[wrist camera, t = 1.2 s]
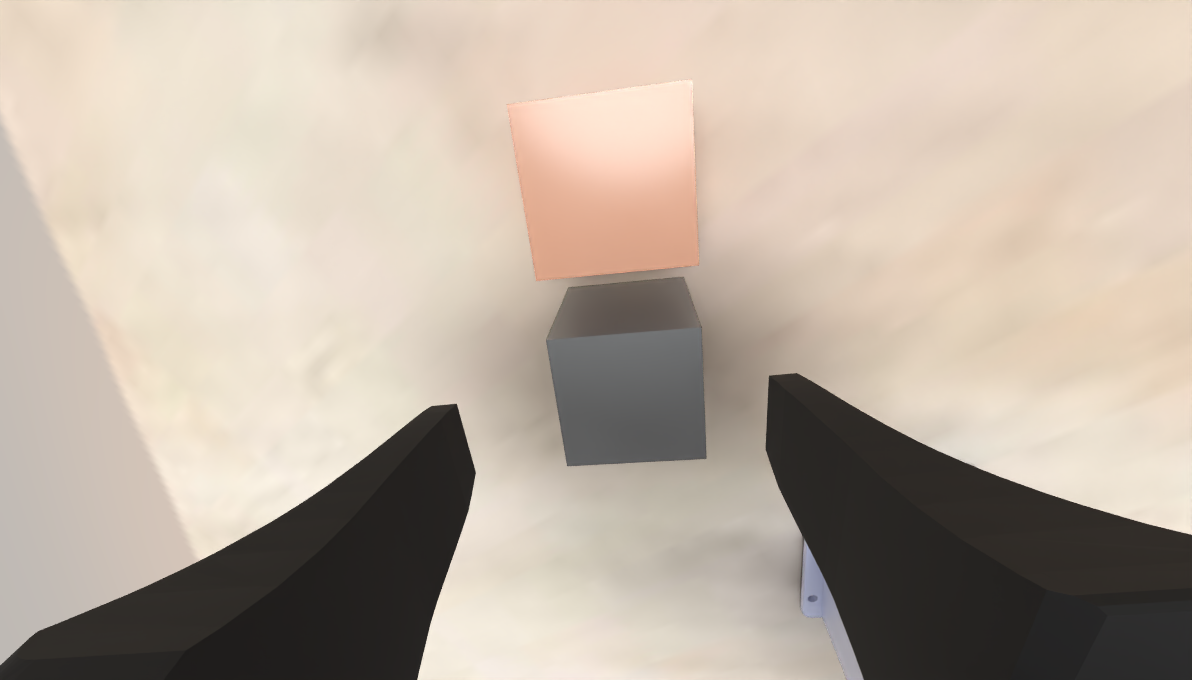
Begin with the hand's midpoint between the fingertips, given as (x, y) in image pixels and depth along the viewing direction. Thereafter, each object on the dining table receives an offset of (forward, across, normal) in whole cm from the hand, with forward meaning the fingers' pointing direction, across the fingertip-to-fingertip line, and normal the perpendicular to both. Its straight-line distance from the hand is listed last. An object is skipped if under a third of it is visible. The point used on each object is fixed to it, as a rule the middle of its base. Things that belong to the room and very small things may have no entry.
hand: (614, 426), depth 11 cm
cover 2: (+11, -1, +3) cm, 11 cm away
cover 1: (+11, -1, -4) cm, 12 cm away
